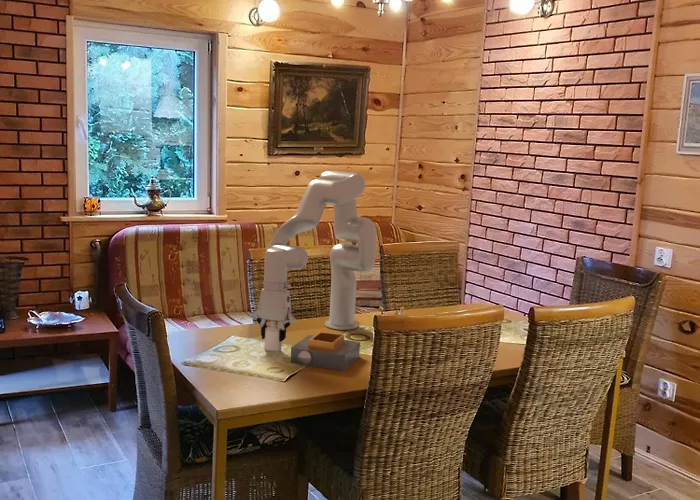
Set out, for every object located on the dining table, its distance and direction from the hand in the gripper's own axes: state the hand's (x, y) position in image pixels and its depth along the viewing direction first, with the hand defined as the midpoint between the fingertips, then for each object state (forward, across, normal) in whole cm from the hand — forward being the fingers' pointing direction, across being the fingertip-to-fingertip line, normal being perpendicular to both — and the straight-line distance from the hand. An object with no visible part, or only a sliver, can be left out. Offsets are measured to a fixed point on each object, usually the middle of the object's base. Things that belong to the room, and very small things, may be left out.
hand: (273, 338), depth 240 cm
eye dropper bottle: (+4, 0, 0) cm, 4 cm away
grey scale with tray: (+4, -19, +1) cm, 19 cm away
